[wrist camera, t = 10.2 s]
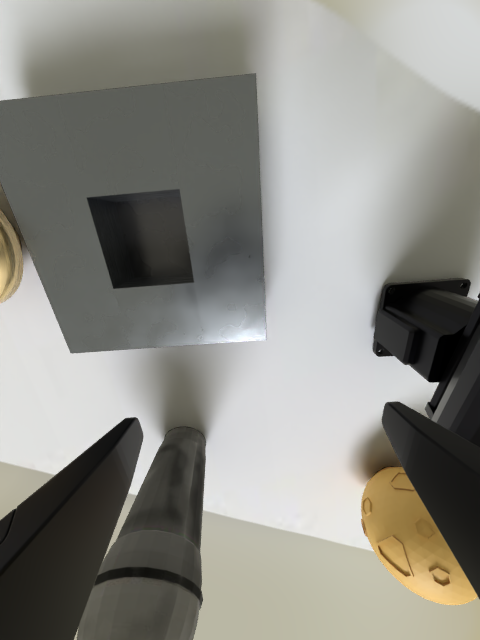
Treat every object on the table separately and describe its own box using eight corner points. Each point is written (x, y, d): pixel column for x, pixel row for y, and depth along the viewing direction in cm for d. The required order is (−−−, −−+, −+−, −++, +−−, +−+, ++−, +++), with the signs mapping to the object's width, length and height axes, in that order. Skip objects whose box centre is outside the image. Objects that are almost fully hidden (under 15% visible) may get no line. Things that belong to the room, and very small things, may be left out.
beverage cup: (142, 421, 25) (-157, 1027, 6) (210, 412, 24) (110, 1041, 6) (163, 468, 27) (0, 982, 9) (224, 460, 27) (188, 989, 8)
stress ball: (413, 486, 30) (518, 510, 21) (405, 587, 25) (539, 671, 16) (350, 445, 29) (432, 452, 21) (330, 539, 24) (426, 600, 16)
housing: (252, 111, 15) (255, 73, 11) (261, 318, 20) (266, 339, 16) (35, 133, 15) (-32, 104, 11) (101, 329, 20) (70, 353, 17)
